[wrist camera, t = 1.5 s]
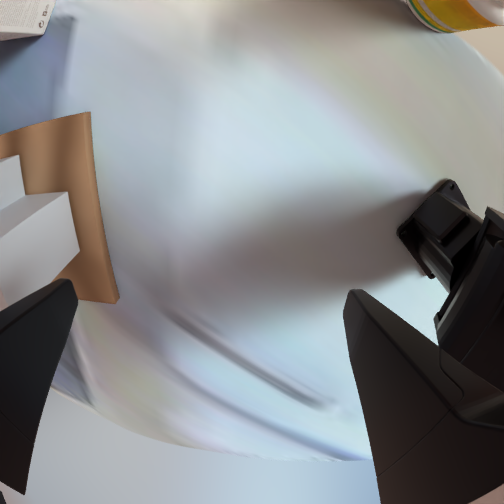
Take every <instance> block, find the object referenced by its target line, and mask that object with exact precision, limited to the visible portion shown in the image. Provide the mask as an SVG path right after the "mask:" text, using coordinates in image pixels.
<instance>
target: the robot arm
mask: <svg viewBox="0 0 504 504" xmlns="http://www.w3.org/2000/svg"><path fill="white" fill-rule="evenodd" d="M451 184H452V187H451V188H450V185H451ZM403 231H405V233H404V234H403V235H401V234H402V232H403ZM397 236H398V237H399V238H400V240H401V241H402V242H403V243H404V245H405V246H406V247H407V249H408V250H409V251H410V253H411V254H412V255H413V257H414V258H415V259H416V261H417V262H418V263H419V265H420V266H421V268H422V269H423V270H424V272H425V273H426V275H427V276H428V277H429V278H430V279H434V278H435V277H436V278H437V279H438V280H439V281H440V283H441V284H442V285H443V287H444V288H445V289H446V291H447V292H448V293H449V295H448V297H447V299H446V300H445V302H444V304H443V306H442V307H441V309H440V311H439V312H437V313H436V315H435V317H434V324H435V328H436V334H437V339H438V344H439V345H438V346H437V345H436V344H435V343H433V342H432V341H431V340H430V339H428V338H427V337H426V336H424V335H423V334H422V333H420V332H419V331H418V330H416V329H415V328H414V327H413V326H411V325H410V324H409V323H407V322H406V321H405V320H403V319H402V318H401V317H399V316H398V315H397V314H395V313H394V312H393V311H391V310H390V309H389V308H387V307H386V306H384V305H383V304H382V303H380V302H379V301H378V300H376V299H375V298H374V297H372V296H371V295H369V294H368V293H367V292H365V291H364V290H362V289H351V290H350V291H349V292H348V295H347V299H346V303H345V306H344V310H343V320H344V326H345V332H346V338H347V345H348V352H349V358H350V362H351V366H352V370H353V374H354V378H355V381H356V385H357V389H358V393H359V397H360V402H361V406H362V410H363V414H364V419H365V423H366V428H367V432H368V437H369V441H370V446H371V451H372V456H373V461H374V466H375V472H376V476H377V483H378V489H379V495H380V501H381V504H504V214H503V213H501V212H499V211H497V210H495V209H493V208H490V207H488V206H487V209H486V211H485V218H484V220H483V219H481V218H480V217H479V216H477V215H476V214H474V213H473V212H472V211H471V210H470V208H469V206H468V204H467V202H466V201H465V199H464V197H463V195H462V193H461V191H460V189H459V187H458V185H457V184H456V182H455V181H453V180H451V179H449V180H447V181H446V182H445V183H444V184H443V185H442V186H441V187H440V188H439V189H438V190H437V191H436V192H435V193H434V194H433V195H432V196H431V197H430V198H429V199H428V200H426V201H425V202H424V203H423V204H422V205H421V206H420V207H419V208H418V209H417V210H416V211H415V212H414V214H413V215H412V216H411V217H410V218H409V219H408V220H406V221H405V222H404V223H403V224H402V225H401V226H400V227H399V228H398V229H397ZM432 272H433V273H432ZM431 273H432V274H431ZM77 306H78V297H77V294H76V292H75V289H74V286H73V283H72V281H71V280H70V279H68V278H59V279H57V280H55V281H53V282H51V283H50V284H48V285H46V286H44V287H42V288H40V289H39V290H37V291H35V292H33V293H31V294H29V295H28V296H26V297H24V298H22V299H21V300H19V301H17V302H15V303H14V304H12V305H10V306H8V307H7V308H5V309H3V310H1V311H0V481H1V482H2V483H4V484H6V485H7V486H9V487H10V488H12V489H14V490H16V491H17V492H19V493H21V494H23V495H25V492H26V486H27V479H28V473H29V468H30V462H31V457H32V452H33V448H34V443H35V439H36V435H37V431H38V426H39V423H40V419H41V415H42V412H43V408H44V405H45V402H46V398H47V395H48V392H49V389H50V386H51V383H52V380H53V377H54V374H55V371H56V368H57V366H58V363H59V360H60V357H61V355H62V352H63V349H64V347H65V344H66V341H67V338H68V335H69V332H70V328H71V325H72V322H73V318H74V315H75V312H76V309H77ZM0 504H6V502H5V499H4V497H3V494H2V492H1V491H0Z"/></svg>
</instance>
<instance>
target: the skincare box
mask: <svg viewBox="0 0 504 504" xmlns="http://www.w3.org/2000/svg"><path fill="white" fill-rule="evenodd" d="M55 3H56V0H0V41H4V40H10V39H16V38H23V37H30V36H39V35H43V34H44V32H45V30H46V27H47V25H48V22H49V19H50V16H51V13H52V11H53V8H54V6H55Z"/></svg>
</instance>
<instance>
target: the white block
mask: <svg viewBox="0 0 504 504" xmlns="http://www.w3.org/2000/svg"><path fill="white" fill-rule="evenodd" d="M79 251H80V249H79V245H78V241H77V236H76V232H75V227H74V223H73V218H72V213H71V208H70V202H69V197H68V192H55V193H44V194H33V195H25V191H24V185H23V180H22V173H21V167H20V160H19V155H15V156H11V157H7V158H3V159H0V311H1V310H3V309H5V308H7V307H8V306H10V305H12V304H14V303H15V302H17V301H19V300H21V299H22V298H24V297H26V296H28V295H29V294H31V293H33V292H35V291H37V290H39V289H40V288H42V287H44V286H46V285H48V284H50V283H51V282H52V281H53V280H54V278H55V277H56V276H57V275H58V274H59V273H60V272H61V271H62V270H63V268H64V267H65V266H66V265H67V264H68V263H69V262H70V261H71V260H72V259H73V258H74V257H75V256H76V255H77V254H78V253H79Z"/></svg>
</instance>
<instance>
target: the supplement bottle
mask: <svg viewBox="0 0 504 504" xmlns="http://www.w3.org/2000/svg"><path fill="white" fill-rule="evenodd" d="M406 2H407V4H408V6H409V7H410V9H411V11H412V12H413V14H414V15H415V16H416V17H417V18H418V19H419V20H420V21H421V22H422V23H423V24H425V25H426V26H427V27H429V28H431V29H433V30H435V31H437V32H440V33H454V32H460V31H466V30H471V29H478V28H486V27H494V26H504V0H406Z"/></svg>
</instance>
